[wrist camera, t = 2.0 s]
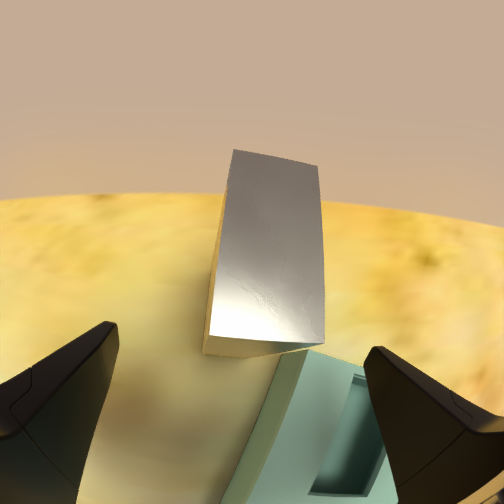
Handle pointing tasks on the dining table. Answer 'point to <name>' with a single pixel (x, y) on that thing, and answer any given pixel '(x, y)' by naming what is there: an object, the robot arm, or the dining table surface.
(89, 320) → the dining table surface
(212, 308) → the token
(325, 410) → the coin box
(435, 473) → the robot arm
